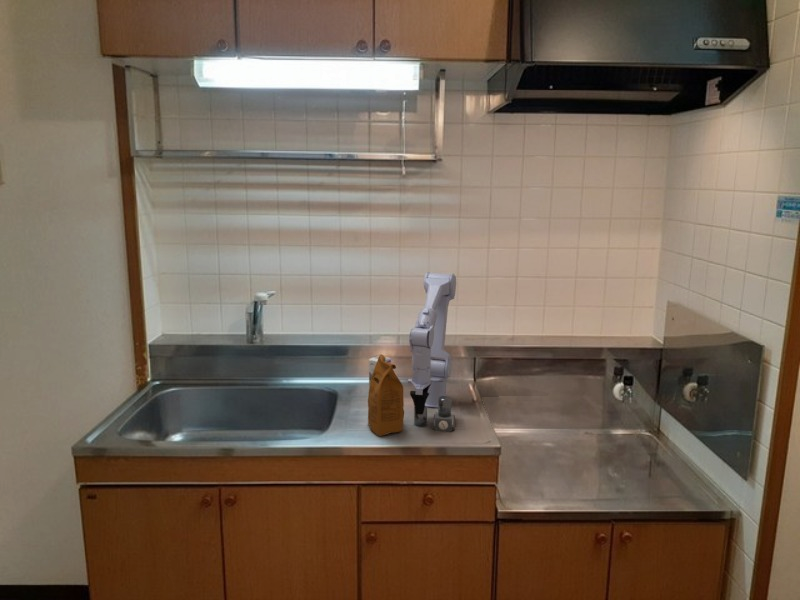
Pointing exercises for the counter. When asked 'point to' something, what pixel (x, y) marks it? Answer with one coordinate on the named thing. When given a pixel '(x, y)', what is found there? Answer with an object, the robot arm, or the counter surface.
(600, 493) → the counter surface
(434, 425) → the dial scale
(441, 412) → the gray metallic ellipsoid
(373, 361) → the syrup box
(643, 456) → the counter surface
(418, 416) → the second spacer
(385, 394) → the coffee package
